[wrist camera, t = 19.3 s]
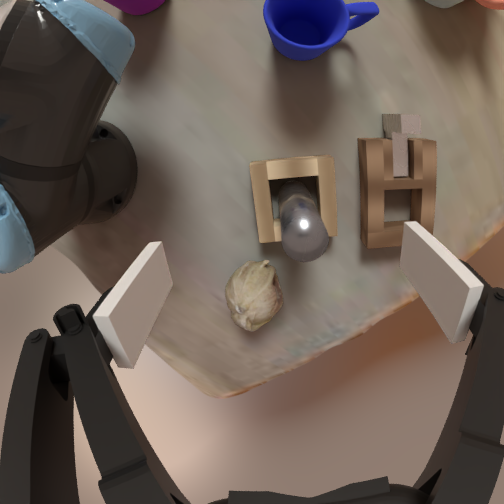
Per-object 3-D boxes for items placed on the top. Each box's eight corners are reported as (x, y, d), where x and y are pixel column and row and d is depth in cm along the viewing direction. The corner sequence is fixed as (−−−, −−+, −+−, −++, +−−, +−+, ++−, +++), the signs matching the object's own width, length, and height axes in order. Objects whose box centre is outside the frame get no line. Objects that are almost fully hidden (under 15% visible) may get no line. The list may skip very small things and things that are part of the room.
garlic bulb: (261, 294, 48) (254, 349, 41) (216, 270, 45) (202, 327, 38) (301, 266, 42) (300, 326, 35) (253, 236, 39) (243, 298, 32)
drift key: (382, 113, 32) (400, 114, 27) (399, 114, 32) (420, 115, 27) (385, 173, 36) (403, 182, 30) (402, 172, 35) (421, 182, 30)
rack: (260, 234, 41) (259, 243, 38) (251, 161, 37) (249, 165, 34) (333, 227, 40) (337, 235, 37) (329, 154, 36) (333, 157, 33)
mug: (367, 55, 29) (396, 38, 20) (277, 74, 32) (280, 58, 23) (345, 3, 26) (366, -27, 17) (256, 20, 28) (251, -10, 19)
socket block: (357, 138, 34) (365, 140, 31) (424, 138, 33) (436, 141, 30) (360, 238, 40) (367, 248, 37) (421, 233, 39) (431, 242, 36)
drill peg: (280, 211, 39) (283, 263, 26) (276, 182, 38) (279, 220, 24) (310, 208, 39) (329, 259, 25) (307, 179, 37) (328, 215, 24)
